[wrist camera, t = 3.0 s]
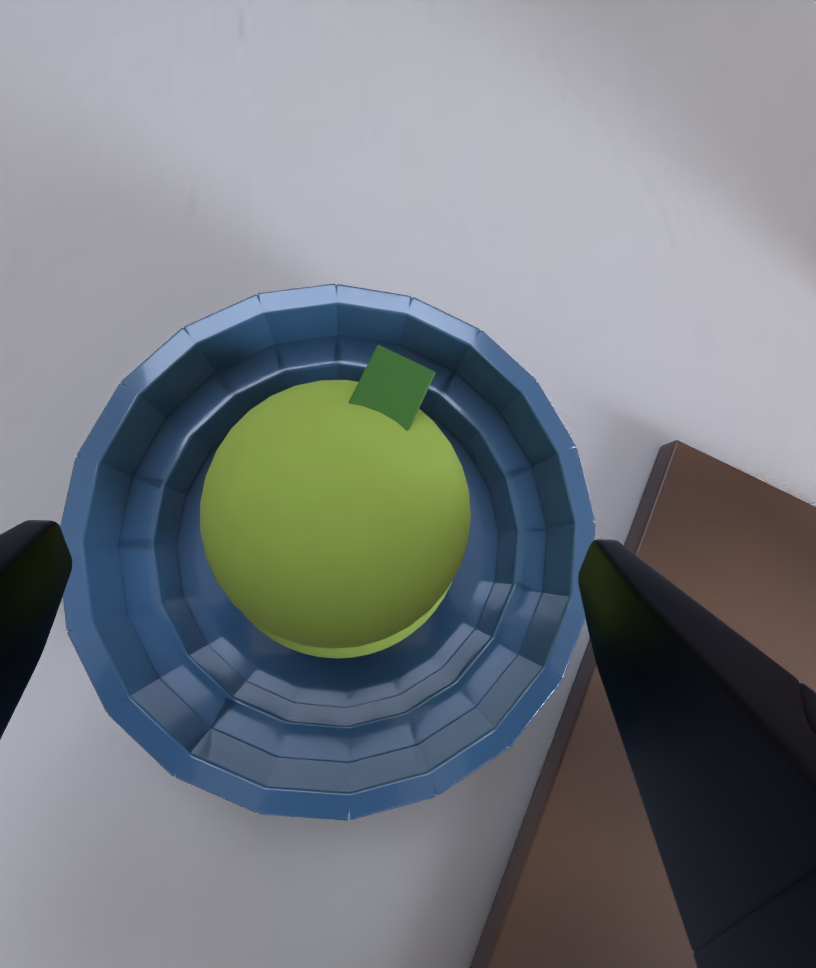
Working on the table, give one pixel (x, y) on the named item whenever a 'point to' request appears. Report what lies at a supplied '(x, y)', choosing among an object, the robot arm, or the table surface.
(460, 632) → the bowl
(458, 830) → the table surface
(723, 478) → the serving board
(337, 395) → the pear plush
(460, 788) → the table surface
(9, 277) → the table surface
